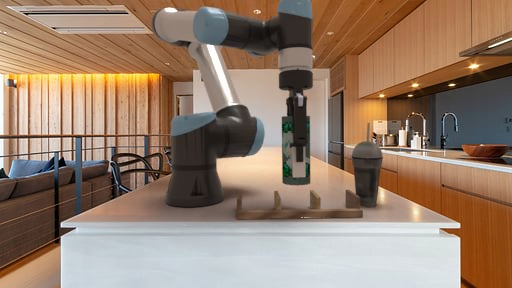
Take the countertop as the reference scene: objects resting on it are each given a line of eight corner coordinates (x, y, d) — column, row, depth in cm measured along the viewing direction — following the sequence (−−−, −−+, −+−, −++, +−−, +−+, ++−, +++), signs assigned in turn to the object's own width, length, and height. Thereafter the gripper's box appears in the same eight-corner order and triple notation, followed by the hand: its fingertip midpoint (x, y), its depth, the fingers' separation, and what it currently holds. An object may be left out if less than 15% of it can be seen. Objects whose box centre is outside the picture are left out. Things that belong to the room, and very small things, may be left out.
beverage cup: (377, 200, 78) (378, 122, 77) (386, 208, 71) (387, 122, 70) (348, 200, 79) (348, 123, 77) (354, 208, 71) (355, 122, 70)
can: (280, 184, 67) (280, 116, 66) (285, 180, 73) (284, 117, 72) (308, 185, 65) (308, 115, 64) (311, 180, 71) (310, 116, 70)
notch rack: (236, 219, 64) (236, 200, 64) (238, 207, 73) (238, 191, 73) (362, 217, 64) (362, 198, 64) (348, 206, 73) (348, 189, 73)
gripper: (322, 61, 58) (323, 181, 59) (304, 78, 77) (305, 168, 78) (283, 62, 58) (284, 182, 59) (275, 78, 77) (276, 168, 78)
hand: (296, 174), depth 69 cm, fingers closed on can, 6 cm apart
